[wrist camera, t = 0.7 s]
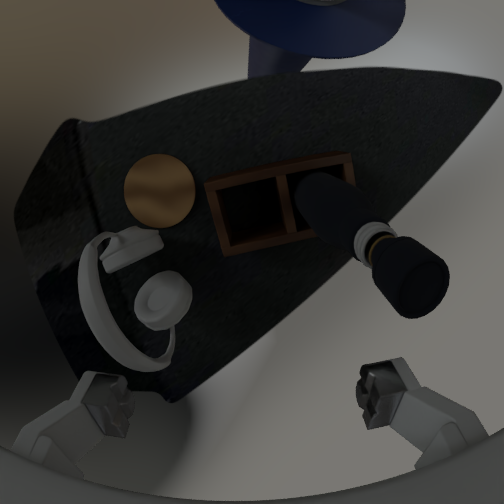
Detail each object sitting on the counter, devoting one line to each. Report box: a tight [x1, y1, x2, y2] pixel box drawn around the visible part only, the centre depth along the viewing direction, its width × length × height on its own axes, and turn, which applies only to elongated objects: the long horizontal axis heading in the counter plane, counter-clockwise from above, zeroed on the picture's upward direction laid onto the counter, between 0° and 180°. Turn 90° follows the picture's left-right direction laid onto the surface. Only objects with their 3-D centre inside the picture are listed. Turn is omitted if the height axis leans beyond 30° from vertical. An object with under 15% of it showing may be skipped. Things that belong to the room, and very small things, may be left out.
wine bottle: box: [289, 169, 450, 319], centre depth 28 cm, size 6×6×30 cm
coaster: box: [124, 154, 196, 228], centre depth 41 cm, size 11×11×1 cm
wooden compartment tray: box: [204, 151, 356, 257], centre depth 39 cm, size 10×19×6 cm, turn 103°
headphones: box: [78, 226, 193, 372], centre depth 36 cm, size 19×9×20 cm, turn 24°
